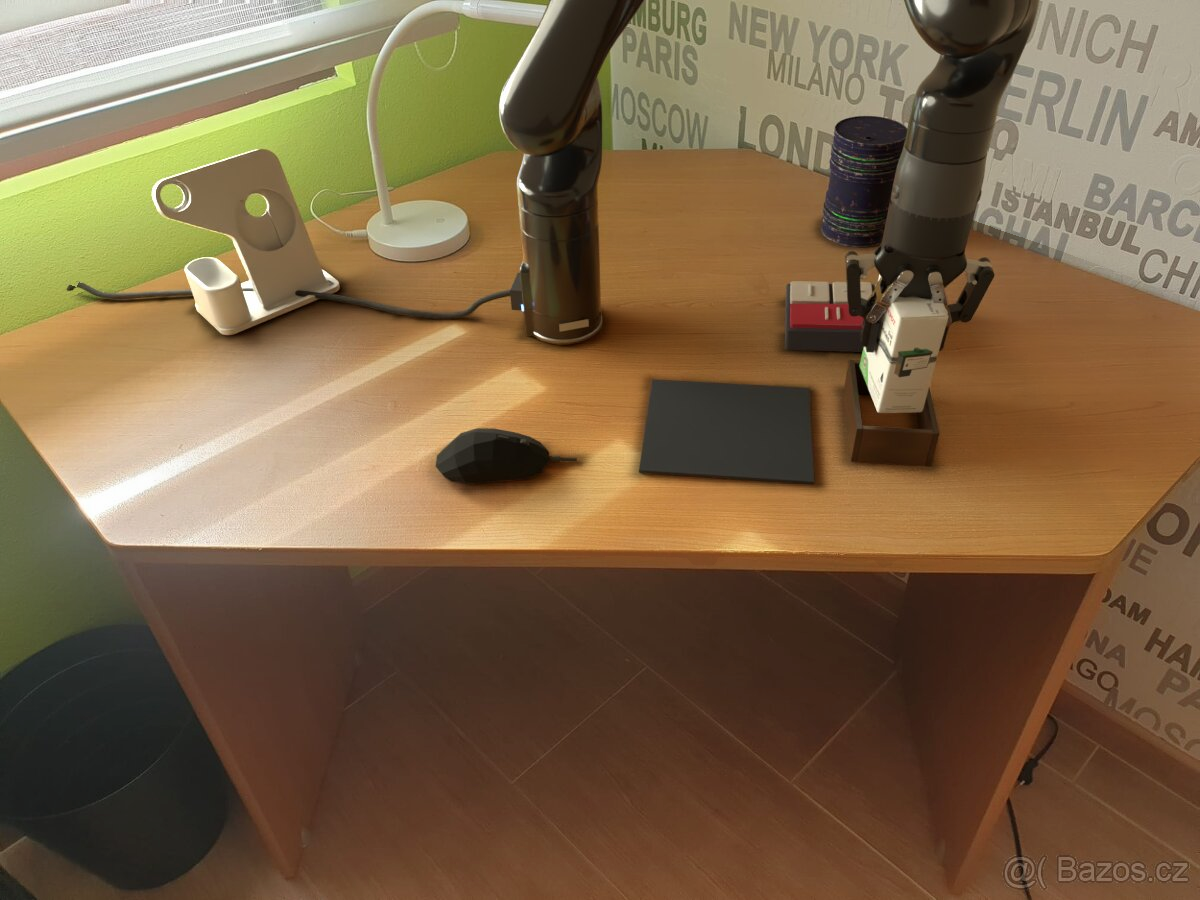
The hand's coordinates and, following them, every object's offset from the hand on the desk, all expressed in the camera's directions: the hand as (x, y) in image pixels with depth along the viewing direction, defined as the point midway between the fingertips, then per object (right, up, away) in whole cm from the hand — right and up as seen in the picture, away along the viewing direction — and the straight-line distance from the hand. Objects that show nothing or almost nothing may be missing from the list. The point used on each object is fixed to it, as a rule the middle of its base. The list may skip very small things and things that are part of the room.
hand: (899, 349), depth 97 cm
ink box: (0, -4, +3) cm, 5 cm away
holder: (+1, -8, +7) cm, 10 cm away
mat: (-17, -8, +7) cm, 20 cm away
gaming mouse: (-40, -12, +4) cm, 42 cm away
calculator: (0, +5, +22) cm, 22 cm away
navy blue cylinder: (+6, +21, +41) cm, 46 cm away
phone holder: (-75, +10, +31) cm, 82 cm away
